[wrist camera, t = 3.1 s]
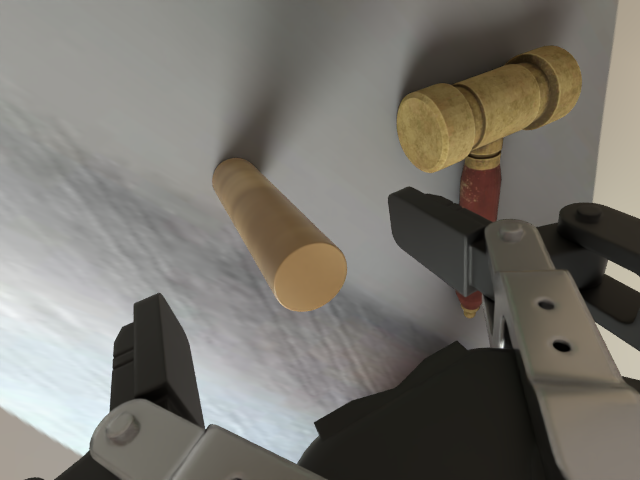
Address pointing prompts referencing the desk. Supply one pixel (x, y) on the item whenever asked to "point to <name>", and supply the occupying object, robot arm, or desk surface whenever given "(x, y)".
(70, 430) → the desk surface
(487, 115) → the gavel
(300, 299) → the stick
